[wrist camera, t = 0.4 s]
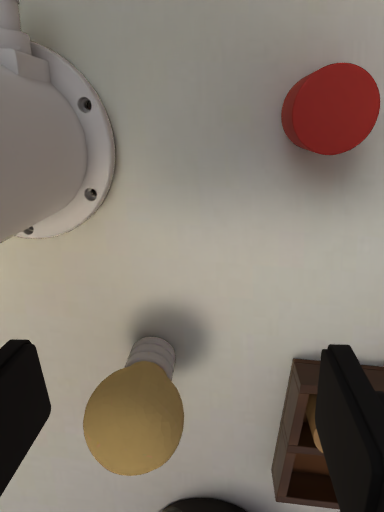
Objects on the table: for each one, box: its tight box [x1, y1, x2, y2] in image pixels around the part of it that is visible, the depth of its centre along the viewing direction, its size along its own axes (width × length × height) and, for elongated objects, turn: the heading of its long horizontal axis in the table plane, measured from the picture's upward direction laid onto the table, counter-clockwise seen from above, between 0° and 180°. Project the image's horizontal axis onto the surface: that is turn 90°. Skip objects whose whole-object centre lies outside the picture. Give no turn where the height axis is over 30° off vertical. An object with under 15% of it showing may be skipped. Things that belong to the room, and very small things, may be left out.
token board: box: [271, 359, 384, 509], centre depth 28 cm, size 13×13×3 cm
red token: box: [281, 63, 380, 155], centre depth 19 cm, size 4×4×4 cm
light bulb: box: [83, 337, 184, 476], centre depth 24 cm, size 6×6×10 cm
